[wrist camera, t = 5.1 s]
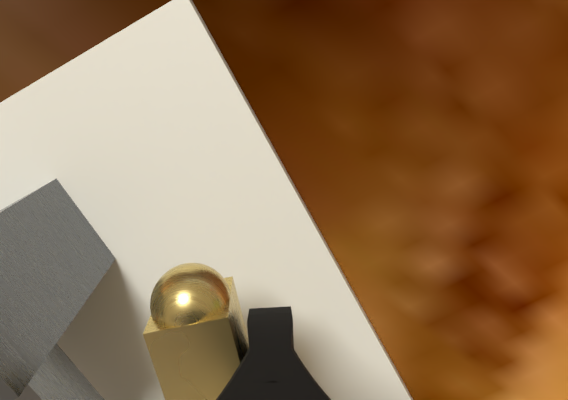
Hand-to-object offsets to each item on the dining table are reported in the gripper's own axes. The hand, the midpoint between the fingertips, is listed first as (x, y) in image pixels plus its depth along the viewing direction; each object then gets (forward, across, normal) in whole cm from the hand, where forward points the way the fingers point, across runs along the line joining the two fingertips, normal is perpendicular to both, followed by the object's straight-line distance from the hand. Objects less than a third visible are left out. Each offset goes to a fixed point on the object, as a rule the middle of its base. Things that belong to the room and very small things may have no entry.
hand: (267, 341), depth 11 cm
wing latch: (0, +1, +1) cm, 2 cm away
